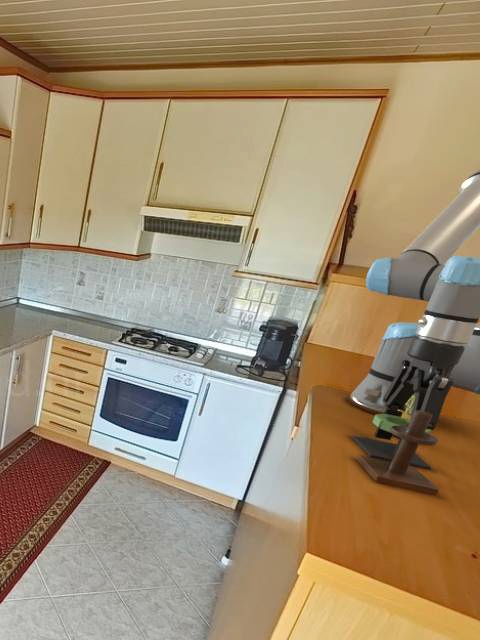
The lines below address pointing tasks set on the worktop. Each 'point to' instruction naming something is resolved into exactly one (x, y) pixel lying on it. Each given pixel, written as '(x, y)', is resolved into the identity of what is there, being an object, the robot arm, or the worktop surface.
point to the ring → (391, 422)
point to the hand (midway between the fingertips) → (391, 446)
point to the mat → (385, 451)
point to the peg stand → (404, 457)
